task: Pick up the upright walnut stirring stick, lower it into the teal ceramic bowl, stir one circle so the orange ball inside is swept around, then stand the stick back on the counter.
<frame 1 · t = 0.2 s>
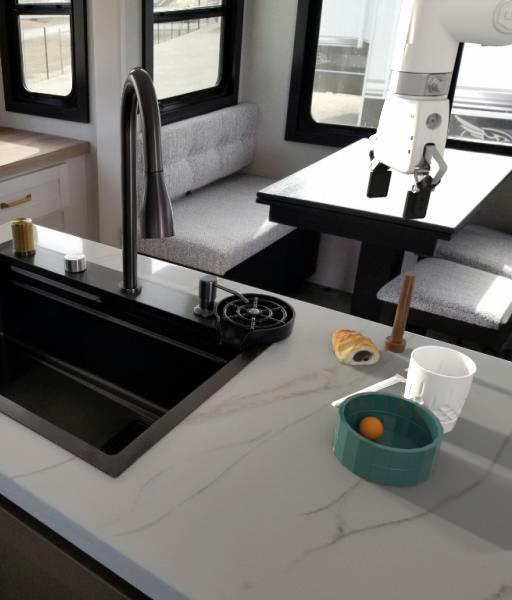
hand: (394, 207, 93), 26 cm above the worktop, tool pointing down, fingers open, 9 cm apart
ball: (369, 437, 85), point 1 cm above the worktop, touching bowl
bowl: (381, 457, 83), on the worktop
fork: (381, 390, 96), on the worktop
pastry: (351, 356, 105), on the worktop
white cup: (426, 422, 89), on the worktop
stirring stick: (393, 350, 106), on the worktop
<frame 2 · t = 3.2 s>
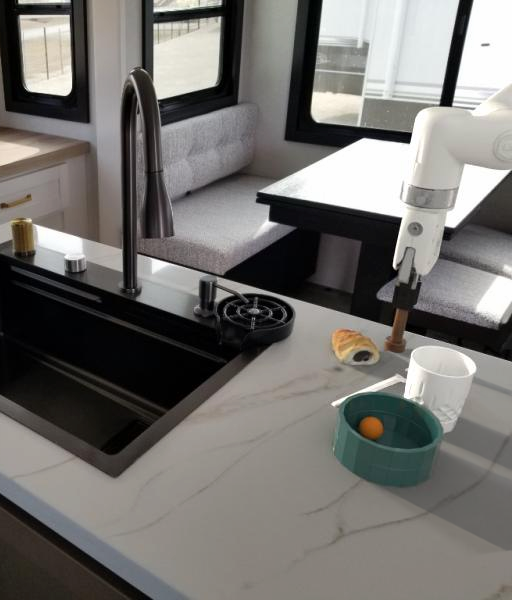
hand: (403, 305, 102), 9 cm above the worktop, tool pointing down, fingers closed on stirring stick
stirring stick: (393, 350, 106), on the worktop, touching gripper
everything else where it was.
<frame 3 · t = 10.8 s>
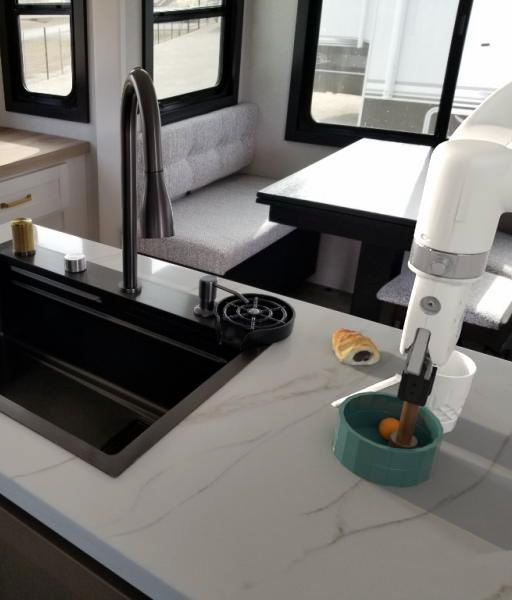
hand: (413, 395, 77), 10 cm above the worktop, tool pointing down, fingers closed on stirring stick
ball: (392, 438, 85), point 1 cm above the worktop, tilted 16°, touching bowl
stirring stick: (400, 451, 81), point 2 cm above the worktop, touching gripper
everything else where it was.
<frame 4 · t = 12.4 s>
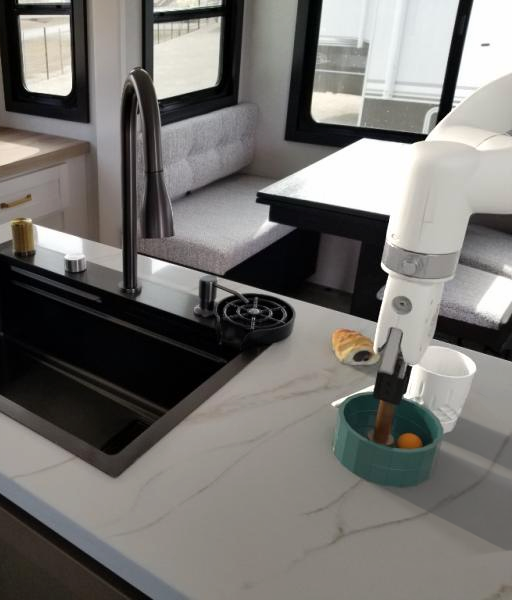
hand: (389, 394, 78), 10 cm above the worktop, tool pointing down, fingers closed on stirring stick
ball: (406, 434, 82), point 3 cm above the worktop, tilted 121°, touching bowl
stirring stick: (378, 449, 82), point 1 cm above the worktop, touching gripper
everything else where it was.
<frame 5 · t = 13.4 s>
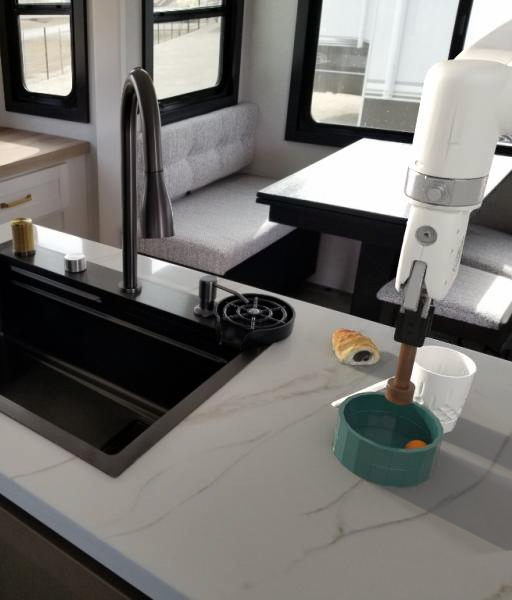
hand: (411, 337, 75), 18 cm above the worktop, tool pointing down, fingers closed on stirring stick
ball: (421, 442, 80), point 4 cm above the worktop, tilted 168°, touching bowl
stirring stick: (398, 397, 79), point 9 cm above the worktop, touching gripper
everything else where it was.
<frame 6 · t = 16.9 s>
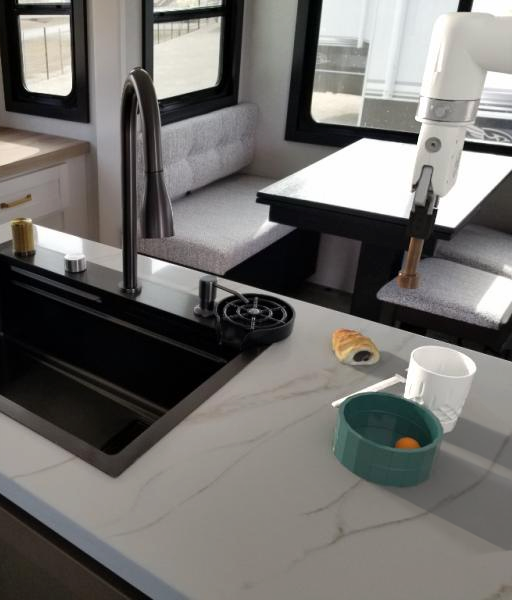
hand: (418, 234, 96), 21 cm above the worktop, tool pointing down, fingers closed on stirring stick
ball: (401, 439, 81), point 3 cm above the worktop, tilted 140°, touching bowl
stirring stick: (407, 285, 100), point 12 cm above the worktop, touching gripper
everything else where it was.
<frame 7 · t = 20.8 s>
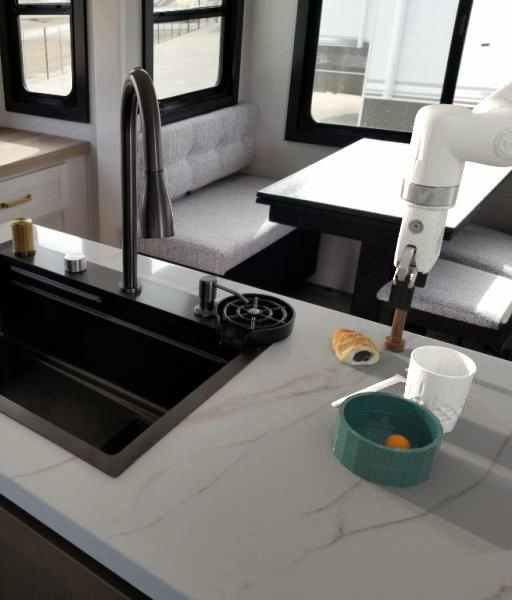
hand: (406, 296, 101), 10 cm above the worktop, tool pointing down, fingers open, 9 cm apart
ball: (385, 441, 82), point 2 cm above the worktop, tilted 93°, touching bowl
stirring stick: (392, 350, 106), on the worktop
everything else where it was.
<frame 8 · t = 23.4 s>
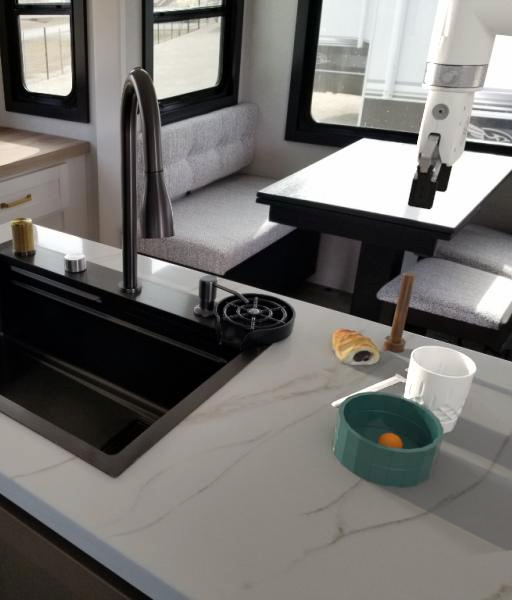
hand: (427, 198, 94), 26 cm above the worktop, tool pointing down, fingers open, 9 cm apart
ball: (378, 445, 83), point 1 cm above the worktop, tilted 62°, touching bowl
everything else where it was.
at the end: ball moved 2.7 cm from its start; ball inside the target area in the bowl (0.8 cm from its centre), point 1.4 cm above the bowl's base; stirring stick tilted 0° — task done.
